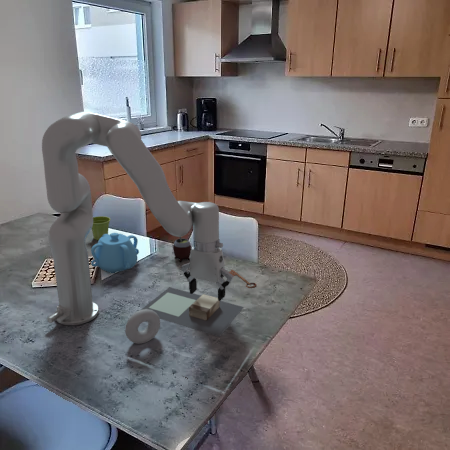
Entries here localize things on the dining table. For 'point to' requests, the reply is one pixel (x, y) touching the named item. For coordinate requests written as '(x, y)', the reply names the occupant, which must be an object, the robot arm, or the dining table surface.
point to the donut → (137, 319)
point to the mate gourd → (182, 249)
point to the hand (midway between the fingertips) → (207, 295)
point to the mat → (179, 311)
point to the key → (242, 278)
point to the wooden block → (204, 307)
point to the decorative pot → (115, 252)
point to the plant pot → (100, 226)
